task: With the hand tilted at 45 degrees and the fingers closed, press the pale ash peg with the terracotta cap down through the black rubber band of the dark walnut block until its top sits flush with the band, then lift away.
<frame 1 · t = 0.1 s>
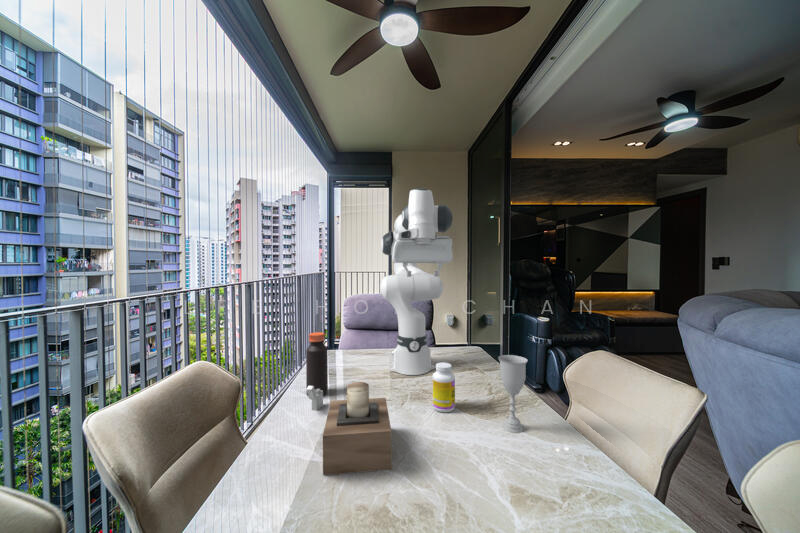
hand: (422, 276, 100), 39 cm above the table, fingers open, 8 cm apart
peg: (358, 403, 70), point 11 cm above the table, slide at 6.0 cm
lighter: (315, 410, 90), on the table
chalice: (512, 428, 79), on the table
supplement bottle: (443, 408, 90), on the table
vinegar: (317, 394, 100), on the table
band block: (358, 448, 70), on the table
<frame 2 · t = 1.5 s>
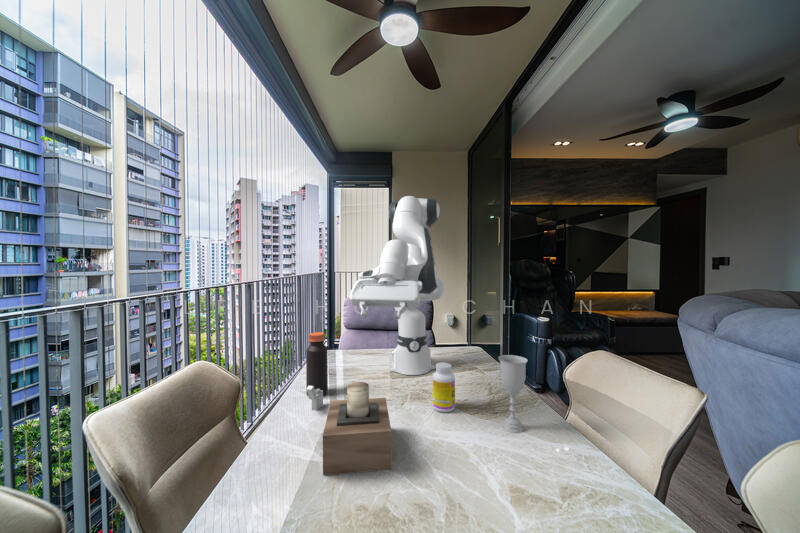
hand: (379, 317, 82), 28 cm above the table, fingers open, 8 cm apart
nothing on the table moved.
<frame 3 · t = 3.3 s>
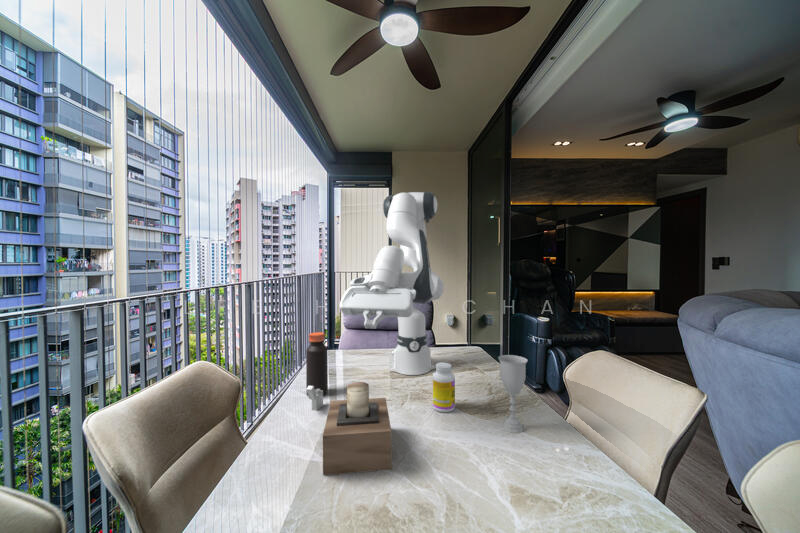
hand: (369, 327, 77), 27 cm above the table, fingers closed
nothing on the table moved.
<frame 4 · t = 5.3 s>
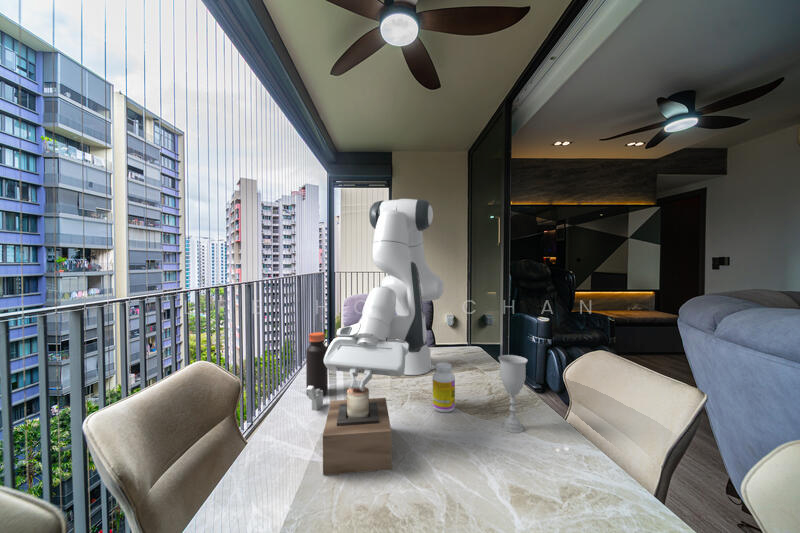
hand: (356, 389, 69), 14 cm above the table, fingers closed, pressing on peg
peg: (358, 407, 70), point 10 cm above the table, slide at 4.9 cm, touching gripper
everything else where it was.
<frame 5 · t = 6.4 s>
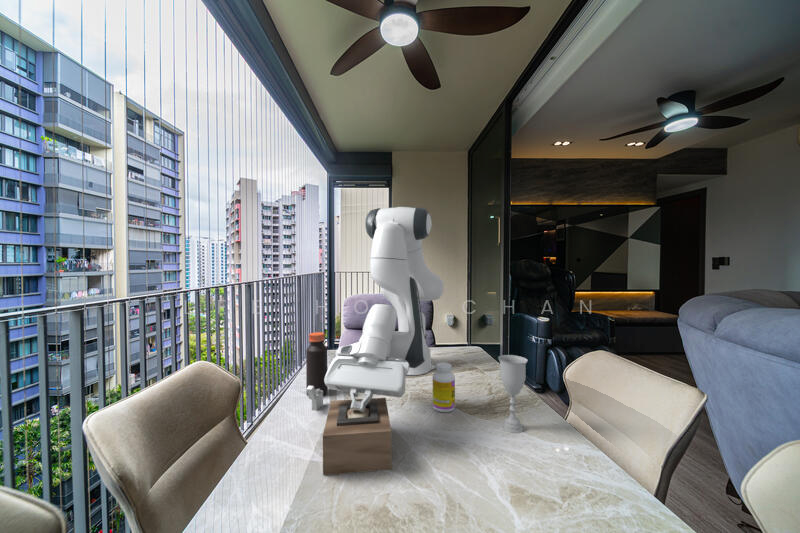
hand: (356, 410, 70), 9 cm above the table, fingers closed, pressing on peg
peg: (358, 429, 70), point 5 cm above the table, slide at 0.0 cm, touching gripper
everything else where it was.
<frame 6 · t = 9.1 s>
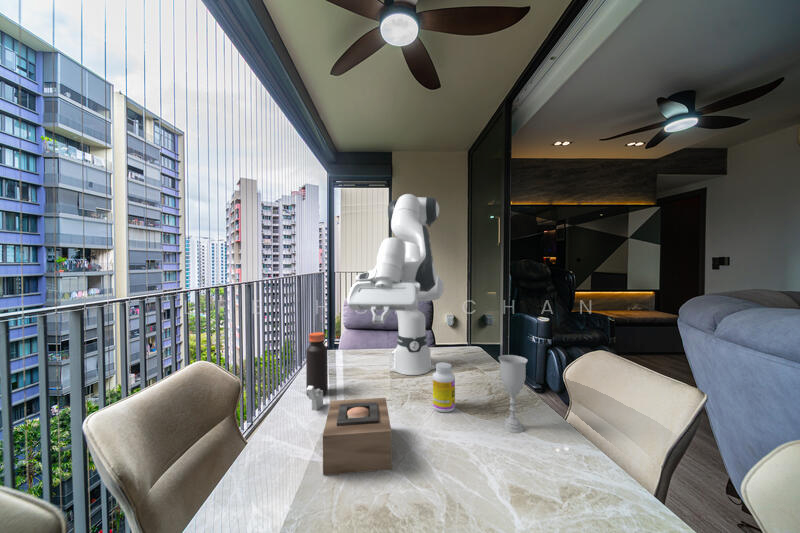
hand: (378, 322, 81), 27 cm above the table, fingers closed
peg: (358, 429, 70), point 5 cm above the table, slide at 0.0 cm
everything else where it was.
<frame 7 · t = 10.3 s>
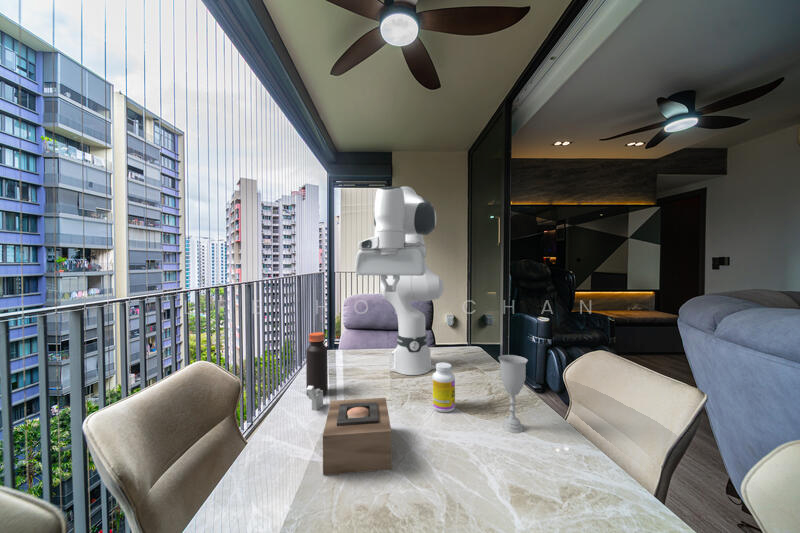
hand: (390, 291, 86), 35 cm above the table, fingers closed
nothing on the table moved.
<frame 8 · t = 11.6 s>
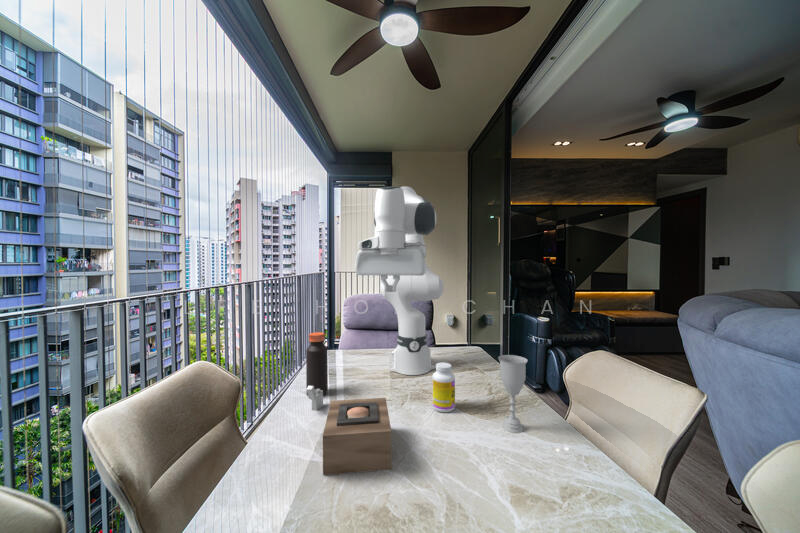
hand: (390, 291, 86), 35 cm above the table, fingers closed
nothing on the table moved.
at the end: peg slide at 0.0 cm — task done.
